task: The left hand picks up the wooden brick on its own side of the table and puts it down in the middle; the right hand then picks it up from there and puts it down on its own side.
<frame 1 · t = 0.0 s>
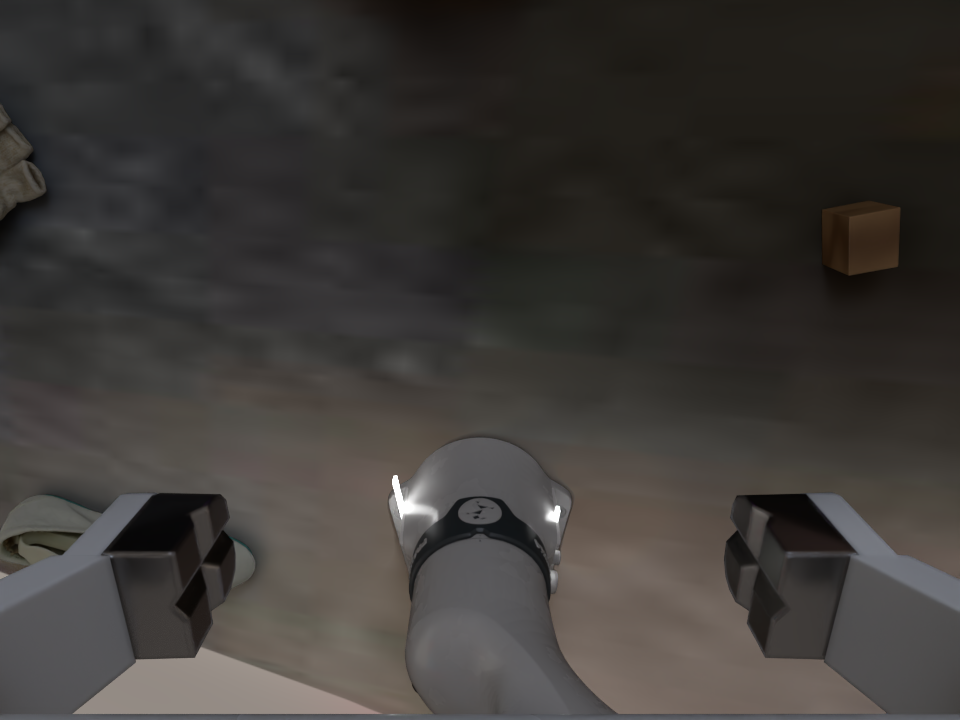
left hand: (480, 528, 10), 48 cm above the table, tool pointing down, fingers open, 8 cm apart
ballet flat: (144, 536, 68), on the table
brick: (845, 232, 56), on the table
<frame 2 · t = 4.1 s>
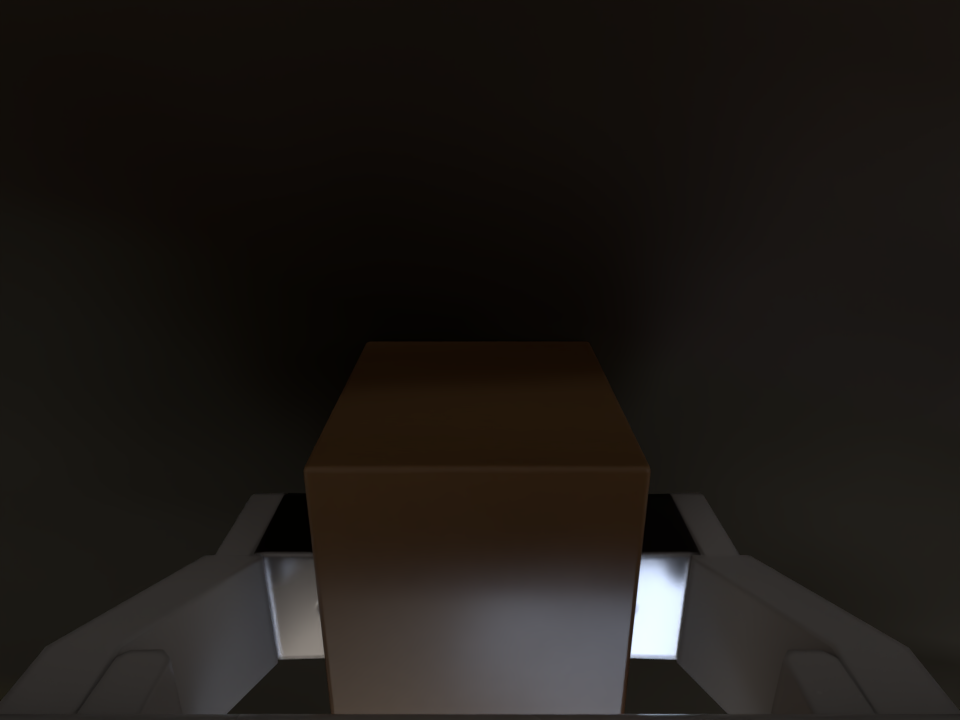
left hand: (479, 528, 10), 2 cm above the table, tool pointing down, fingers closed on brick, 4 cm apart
brick: (478, 460, 12), on the table, touching left hand
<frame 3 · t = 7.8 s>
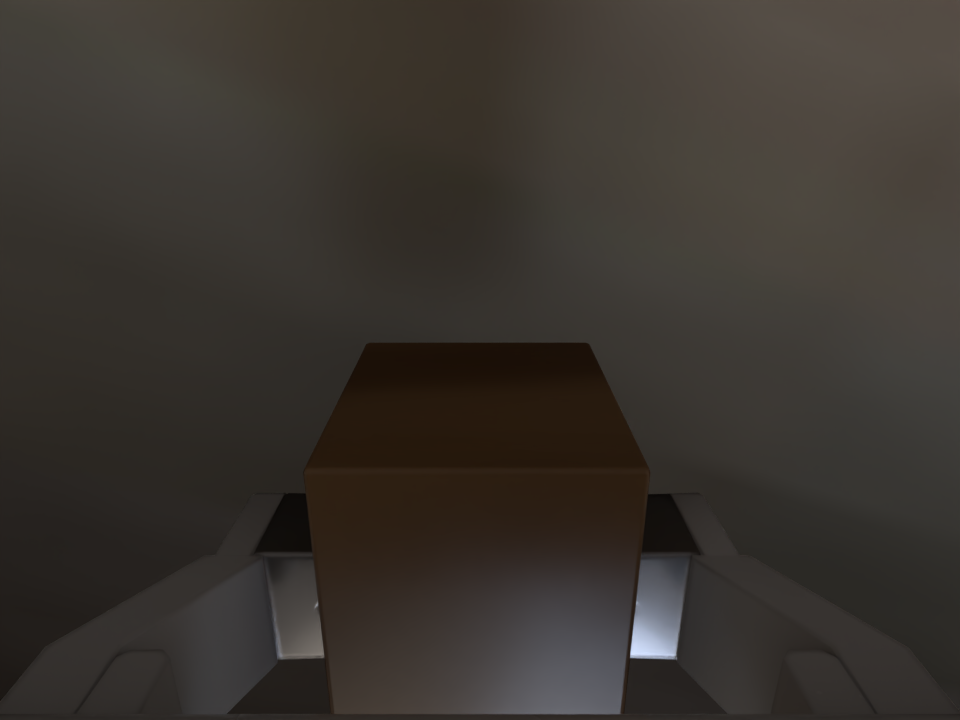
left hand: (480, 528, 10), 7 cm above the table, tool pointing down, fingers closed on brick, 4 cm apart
brick: (478, 461, 12), point 4 cm above the table, touching left hand
when the left hand's fingers open (3 cm above the table, at t = 11.4 s): brick stays where it is, on the table.
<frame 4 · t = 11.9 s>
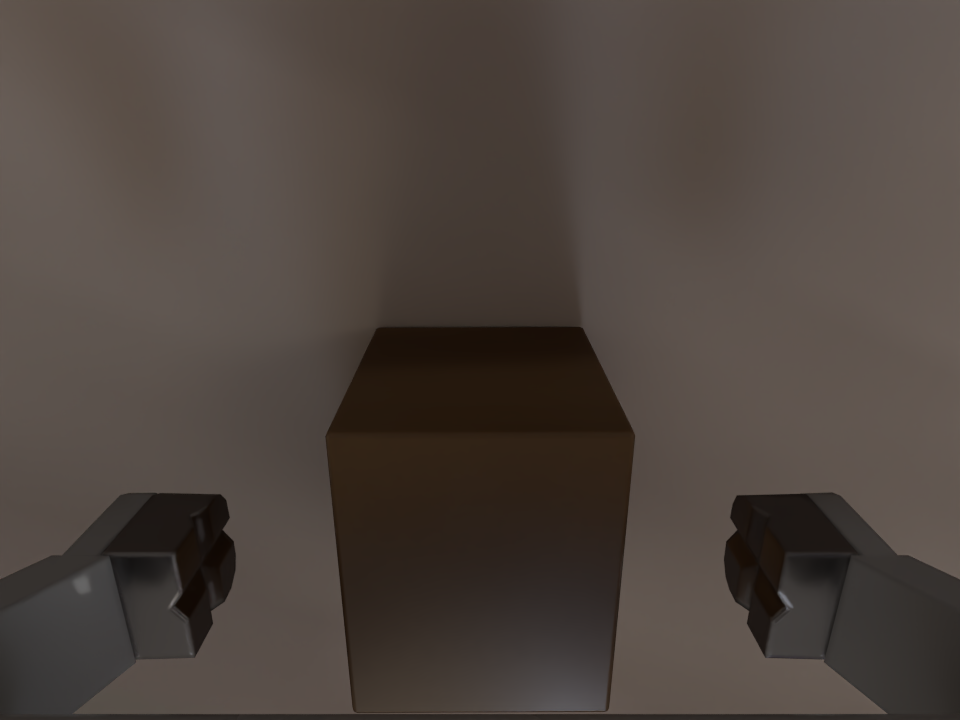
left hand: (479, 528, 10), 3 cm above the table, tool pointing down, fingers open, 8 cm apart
brick: (479, 438, 13), on the table
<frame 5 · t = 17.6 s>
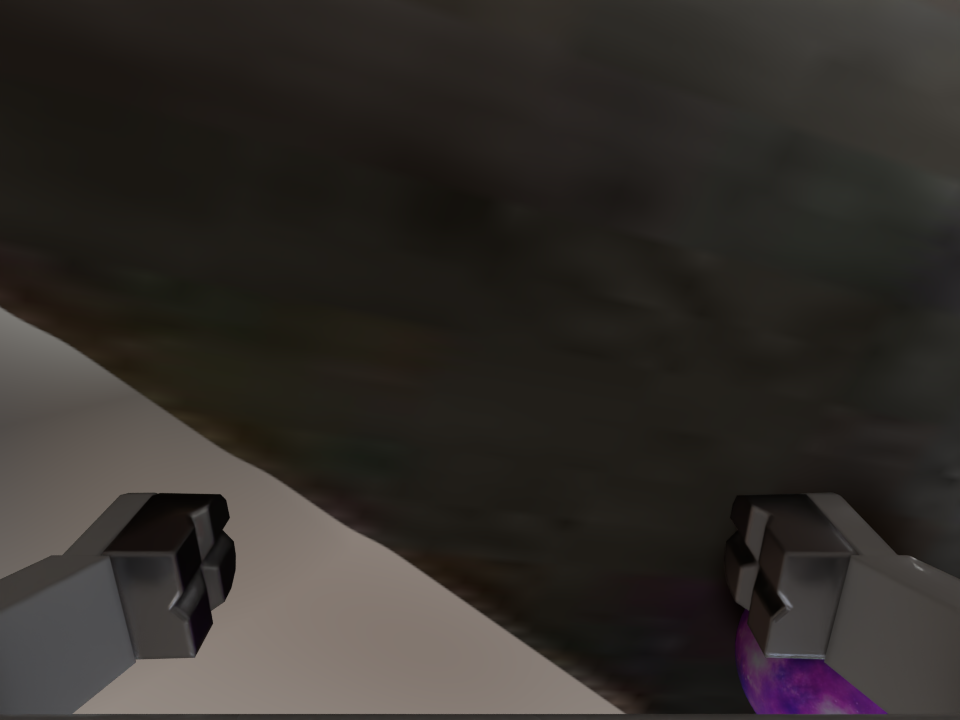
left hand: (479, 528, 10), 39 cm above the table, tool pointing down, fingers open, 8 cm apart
decorative orb: (790, 598, 60), on the table
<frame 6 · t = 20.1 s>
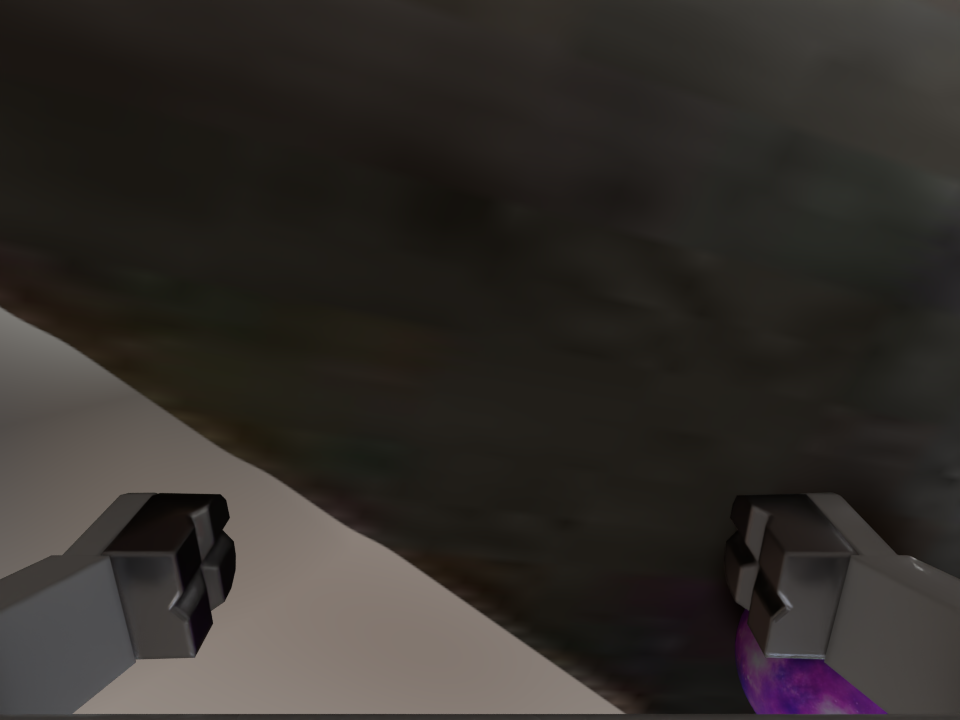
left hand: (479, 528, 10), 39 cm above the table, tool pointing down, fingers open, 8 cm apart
decorative orb: (790, 598, 60), on the table
when the right hand's fingers open (2 cm above the table, at t = 23.1 s): brick stays where it is, on the table.
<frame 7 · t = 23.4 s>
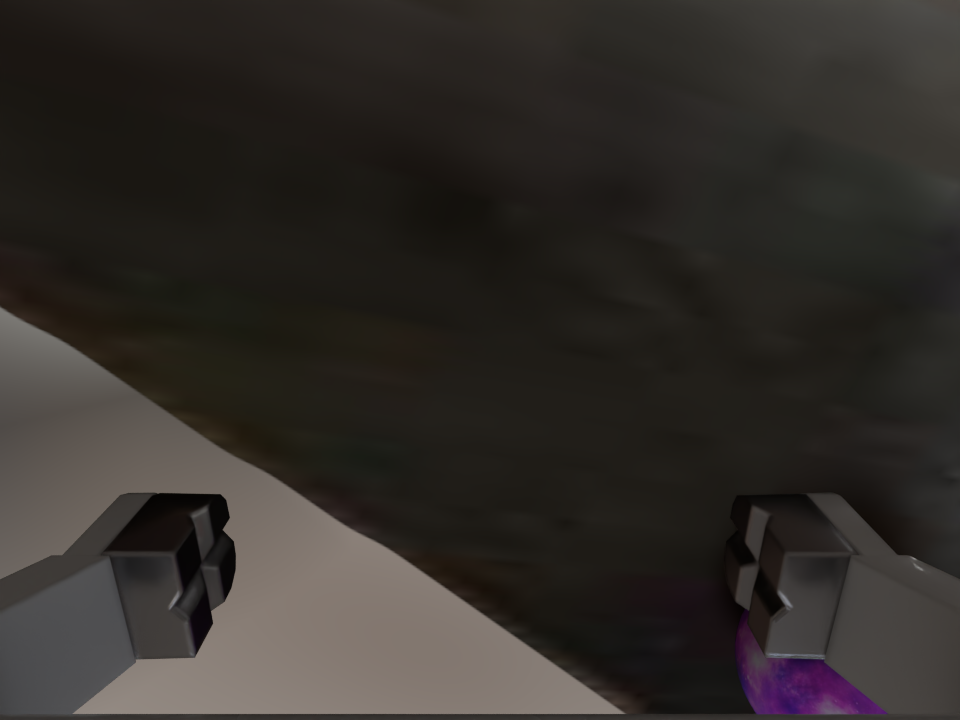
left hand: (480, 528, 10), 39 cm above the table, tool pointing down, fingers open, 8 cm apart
decorative orb: (790, 598, 60), on the table
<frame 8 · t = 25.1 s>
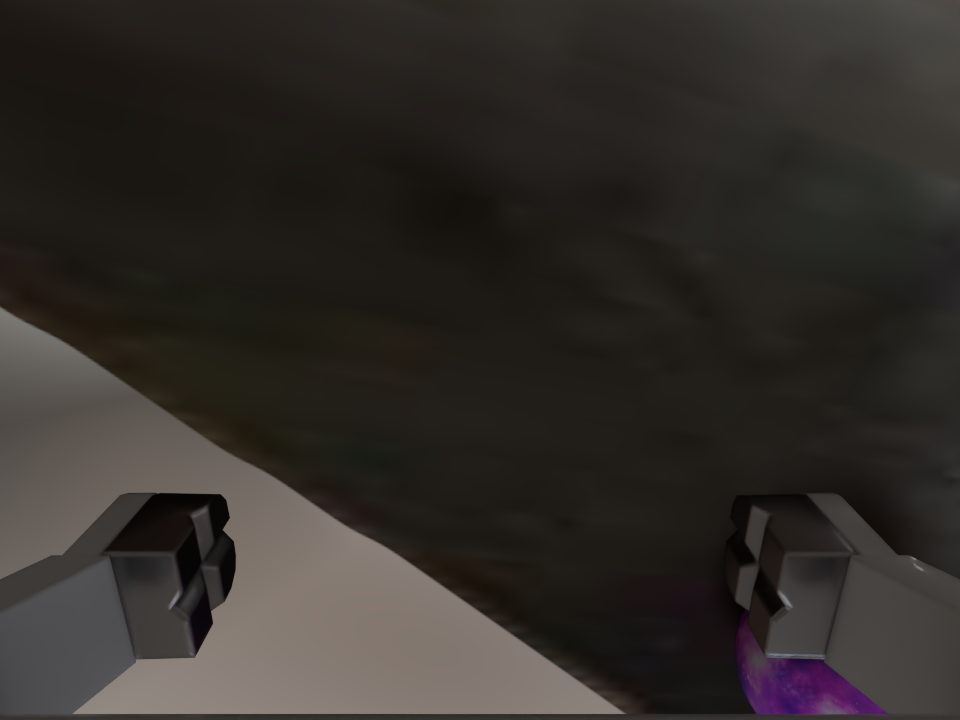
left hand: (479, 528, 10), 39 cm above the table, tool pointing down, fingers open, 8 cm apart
decorative orb: (790, 598, 60), on the table
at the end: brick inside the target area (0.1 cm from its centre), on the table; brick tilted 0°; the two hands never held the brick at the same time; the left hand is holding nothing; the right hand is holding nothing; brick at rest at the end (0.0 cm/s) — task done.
